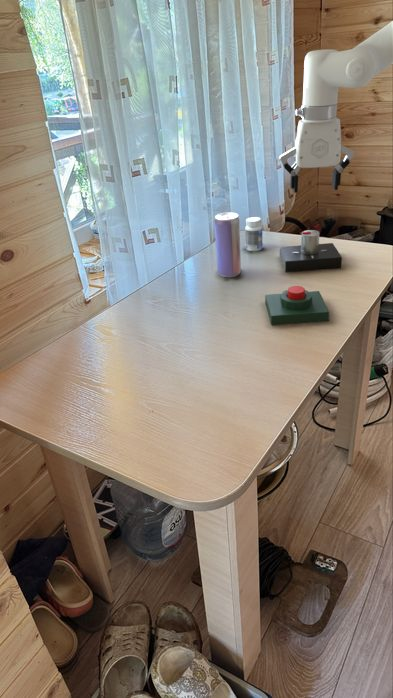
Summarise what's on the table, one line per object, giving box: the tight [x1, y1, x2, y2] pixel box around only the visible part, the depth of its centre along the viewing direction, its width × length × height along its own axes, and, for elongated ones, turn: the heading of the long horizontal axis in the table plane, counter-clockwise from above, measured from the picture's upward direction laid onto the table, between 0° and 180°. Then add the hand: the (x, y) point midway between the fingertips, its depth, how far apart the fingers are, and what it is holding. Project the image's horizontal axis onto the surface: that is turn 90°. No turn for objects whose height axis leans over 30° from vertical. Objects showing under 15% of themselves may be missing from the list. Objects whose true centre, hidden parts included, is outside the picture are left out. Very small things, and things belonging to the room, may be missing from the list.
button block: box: [264, 289, 330, 326], centre depth 111 cm, size 12×10×4 cm
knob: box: [300, 229, 321, 255], centre depth 130 cm, size 4×4×5 cm
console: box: [279, 242, 343, 273], centre depth 133 cm, size 14×10×3 cm
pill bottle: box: [244, 216, 263, 252], centre depth 143 cm, size 5×5×8 cm
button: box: [287, 285, 306, 300], centre depth 109 cm, size 4×4×2 cm
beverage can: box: [214, 211, 242, 279], centre depth 128 cm, size 6×6×15 cm
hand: (314, 189), depth 125 cm, fingers open, 9 cm apart
